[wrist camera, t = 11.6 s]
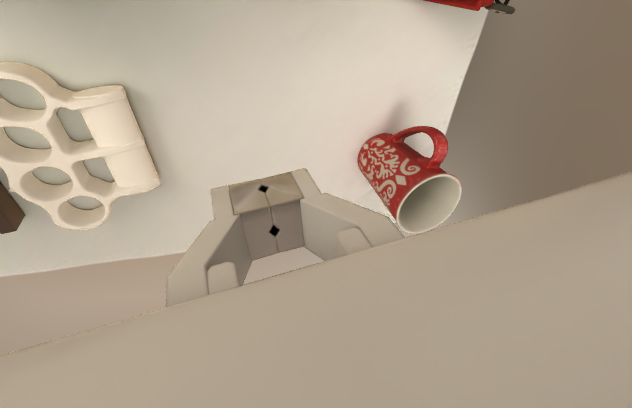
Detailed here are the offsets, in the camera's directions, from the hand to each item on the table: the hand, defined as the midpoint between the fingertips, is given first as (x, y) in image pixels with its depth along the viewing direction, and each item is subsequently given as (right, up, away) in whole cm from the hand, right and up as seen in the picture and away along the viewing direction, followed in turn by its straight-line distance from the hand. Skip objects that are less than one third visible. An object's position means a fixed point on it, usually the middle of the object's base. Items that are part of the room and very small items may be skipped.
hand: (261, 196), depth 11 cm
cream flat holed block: (-25, +6, +26) cm, 37 cm away
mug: (+12, +9, +40) cm, 42 cm away
